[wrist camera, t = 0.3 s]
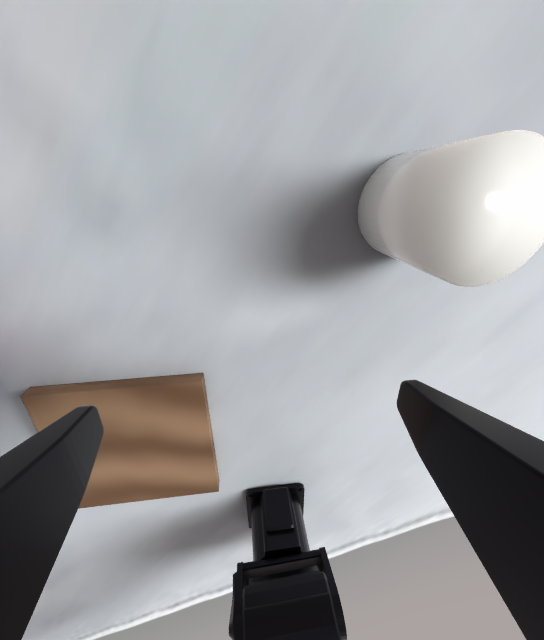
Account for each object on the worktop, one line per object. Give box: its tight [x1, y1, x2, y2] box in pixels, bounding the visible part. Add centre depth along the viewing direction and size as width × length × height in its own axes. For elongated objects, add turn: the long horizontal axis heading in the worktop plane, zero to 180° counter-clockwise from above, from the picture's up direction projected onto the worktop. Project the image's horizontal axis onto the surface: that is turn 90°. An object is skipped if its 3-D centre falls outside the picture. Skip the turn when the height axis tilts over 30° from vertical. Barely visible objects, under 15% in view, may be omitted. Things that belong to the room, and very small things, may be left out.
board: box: [21, 373, 219, 508], centre depth 26 cm, size 14×14×1 cm
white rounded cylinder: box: [358, 130, 544, 287], centre depth 17 cm, size 7×7×8 cm
